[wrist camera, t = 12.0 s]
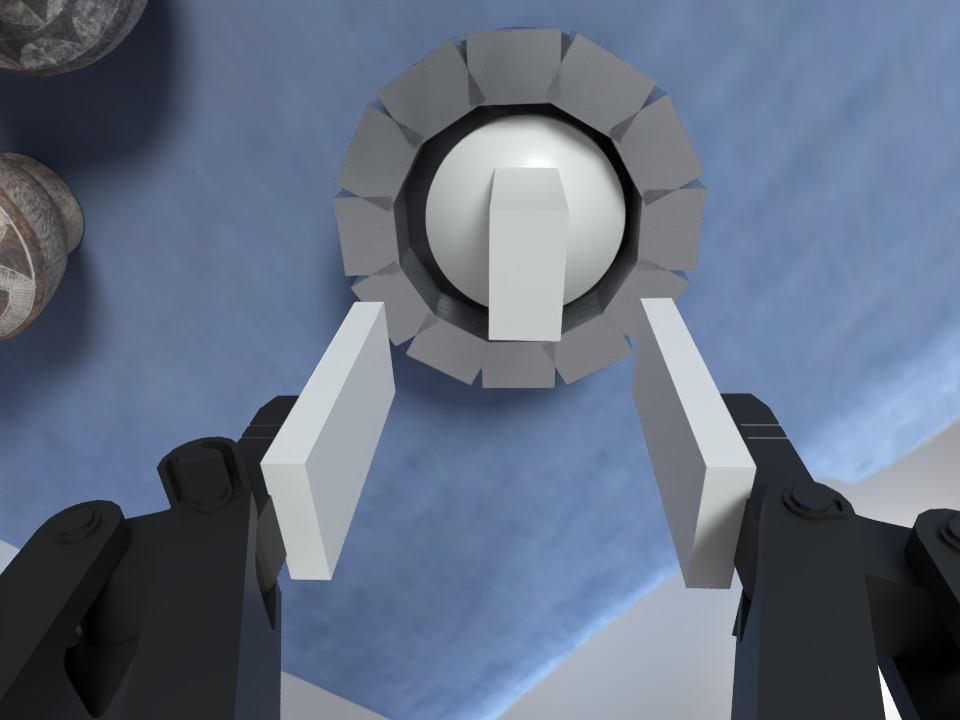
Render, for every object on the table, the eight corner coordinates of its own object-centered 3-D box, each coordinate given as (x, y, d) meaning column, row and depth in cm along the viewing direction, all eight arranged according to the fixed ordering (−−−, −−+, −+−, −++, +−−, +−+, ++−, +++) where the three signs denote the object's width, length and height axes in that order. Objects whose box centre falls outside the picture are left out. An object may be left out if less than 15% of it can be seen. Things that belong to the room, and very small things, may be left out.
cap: (433, 297, 29) (409, 383, 22) (425, 111, 25) (393, 148, 18) (609, 301, 28) (637, 389, 22) (630, 112, 24) (672, 150, 18)
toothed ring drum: (393, 317, 35) (363, 388, 28) (359, 33, 28) (308, 40, 22) (650, 314, 34) (680, 387, 27) (680, 18, 27) (728, 21, 21)
